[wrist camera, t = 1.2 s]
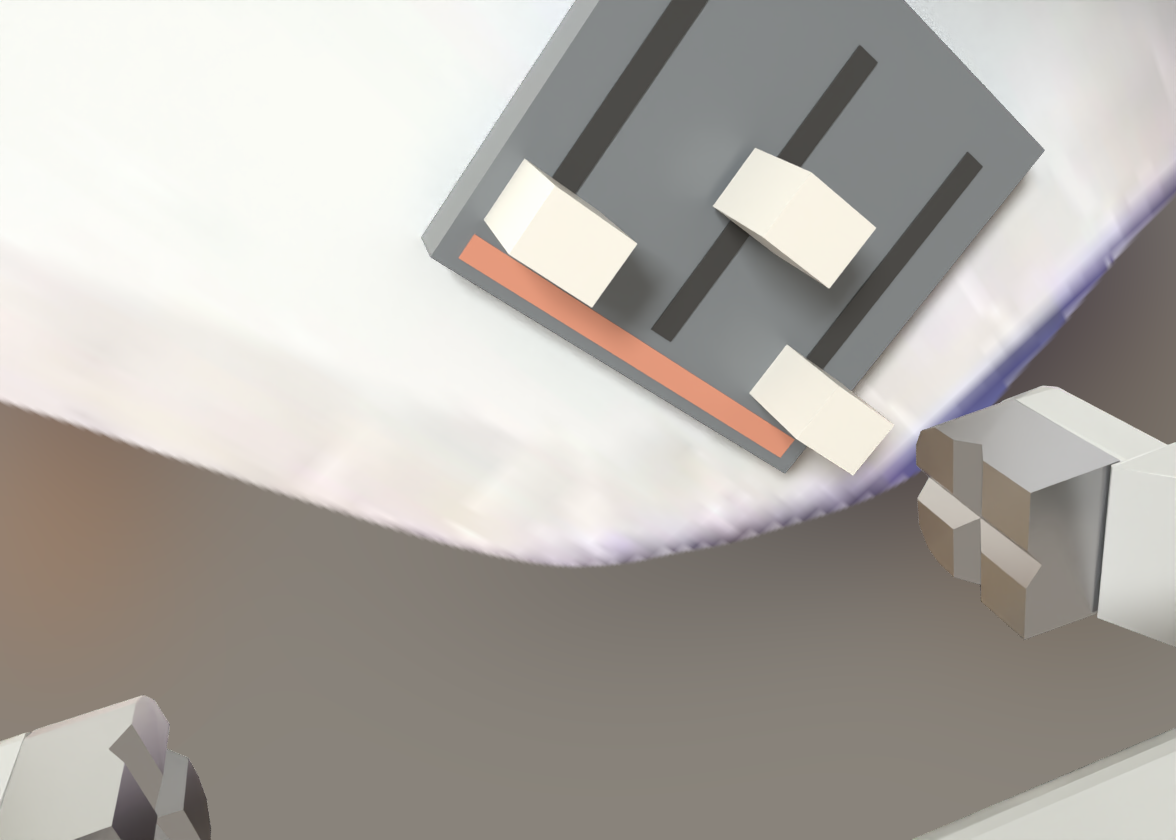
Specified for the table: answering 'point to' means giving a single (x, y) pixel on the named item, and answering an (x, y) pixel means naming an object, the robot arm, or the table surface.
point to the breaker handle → (794, 216)
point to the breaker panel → (700, 175)
